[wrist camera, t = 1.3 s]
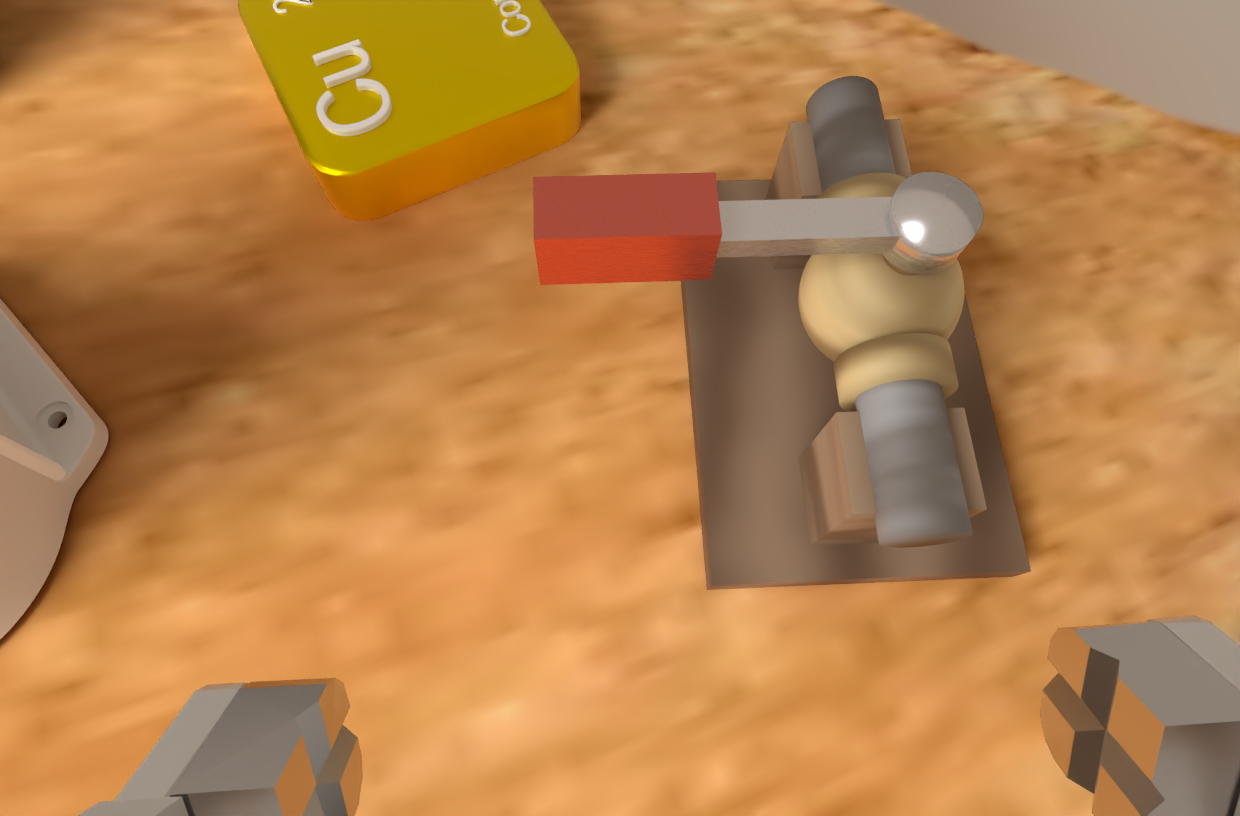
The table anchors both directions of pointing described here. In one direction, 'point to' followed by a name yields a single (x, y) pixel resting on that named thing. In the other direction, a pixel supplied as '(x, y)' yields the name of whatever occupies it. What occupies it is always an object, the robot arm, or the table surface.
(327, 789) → the robot arm
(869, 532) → the valve stand
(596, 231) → the valve lever
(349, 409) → the table surface
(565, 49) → the element tile
